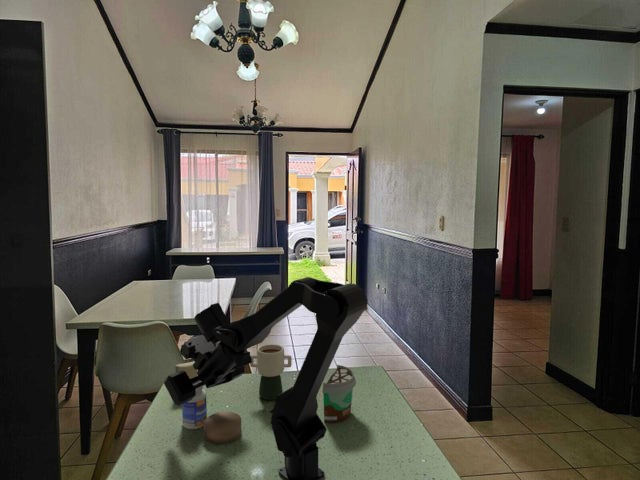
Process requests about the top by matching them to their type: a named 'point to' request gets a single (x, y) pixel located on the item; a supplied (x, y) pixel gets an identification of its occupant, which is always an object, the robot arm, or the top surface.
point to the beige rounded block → (187, 369)
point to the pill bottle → (195, 410)
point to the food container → (338, 395)
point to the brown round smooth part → (222, 427)
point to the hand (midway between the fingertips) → (190, 393)
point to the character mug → (270, 369)
